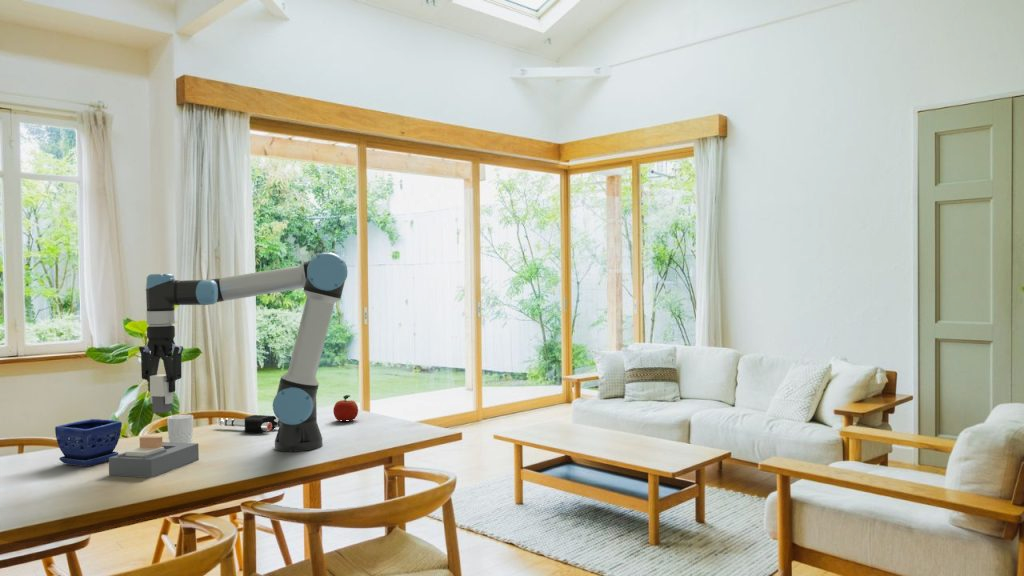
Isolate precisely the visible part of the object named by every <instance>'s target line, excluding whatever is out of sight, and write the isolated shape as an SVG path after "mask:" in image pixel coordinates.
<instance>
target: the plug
mask: <svg viewBox="0 0 1024 576" xmlns="http://www.w3.org/2000/svg"><path fill="white" fill-rule="evenodd" d="M166 380H167V377H166V373H165V374H164V373H163V374H162V373H161V374H157V375H153V376H150V392H149V397H150V396H152V404H151V405H152V406H151V407H152V414H153V413H154V414H166V413H169V412H172V403H170V404H165V382H166Z"/></svg>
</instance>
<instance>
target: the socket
mask: <svg viewBox="0 0 1024 576" xmlns="http://www.w3.org/2000/svg"><path fill="white" fill-rule="evenodd" d="M162 447H164V449H162V450H159V451H156V452H153V453H150V454H147V455H144V456H143V457H140V456H125V452H122V453H118V455H116V456H113V457H109V461H108V475H109V476H115V477H117V476H118V477H135V478H154V477H157V476H160V475H162V474H165V473H167V472H170V471H173V470H175V469H177V468H180V467H184V466H185V465H188V464H191V463H193V462H197V461H198V460H200V459H199V455H200V453H199V443H197V442H196V443H193V442H192V443H174V442H169V441H167V442H166V441H162Z"/></svg>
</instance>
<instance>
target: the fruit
mask: <svg viewBox="0 0 1024 576" xmlns="http://www.w3.org/2000/svg"><path fill="white" fill-rule="evenodd" d="M349 398H351V395H349V394H345V395H343V399H342V400H339V401H337V402H336V403H335V404H334V407H333V416H334V417H335V419H336V420H337V421H339V420H342V421H346V420H352V421H354V420H355V419H356V417H358V414H359V406H358V404H357V403H356V401H354V400H351V399H350V400H347V399H349ZM353 419H354V420H353Z"/></svg>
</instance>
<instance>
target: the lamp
mask: <svg viewBox="0 0 1024 576" xmlns="http://www.w3.org/2000/svg"><path fill="white" fill-rule="evenodd" d="M217 424H219V426H221V427H222V426H225V427H238V428H239V427H240V428H244V433H248V434H249V433H250V434H264V433H263V432H265V433H267V432H266V431H268V432H271V431H272V430H271V429H274V428H275V429H276V428H279V426H280V420H279V419H278V418H277V417H276V416H275V415H261V414H260V415H259V414H254V415H249V416H246V417H244V419H238V418H236V419H235V418H225V419H224V418H221V419H219V420H218V421H217ZM275 429H274V430H275ZM270 430H271V431H270Z"/></svg>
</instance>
